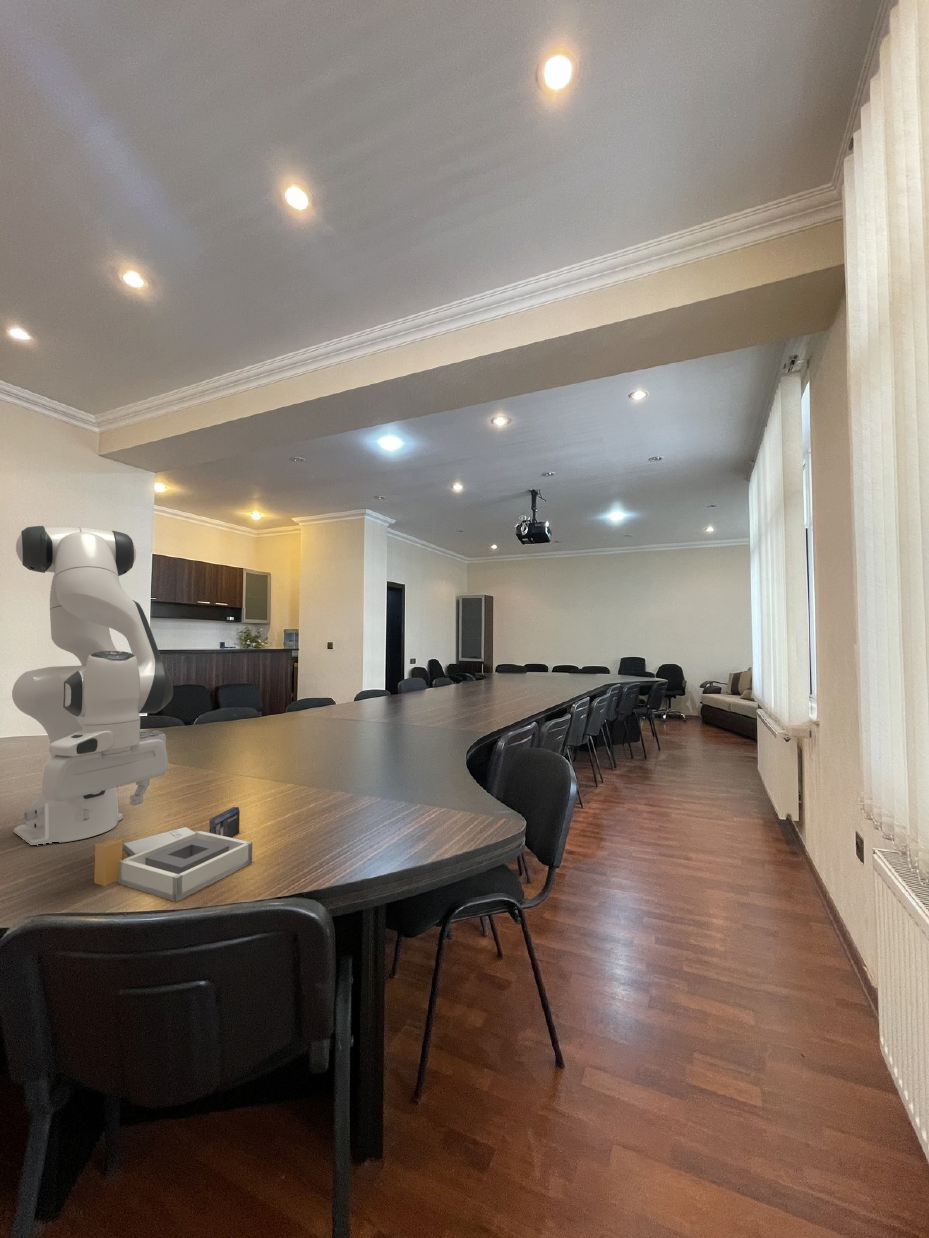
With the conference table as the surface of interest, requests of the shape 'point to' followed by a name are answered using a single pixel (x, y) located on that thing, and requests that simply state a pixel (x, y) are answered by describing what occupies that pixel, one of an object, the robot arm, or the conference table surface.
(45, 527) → the robot arm
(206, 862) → the walled box
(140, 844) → the external hard drive
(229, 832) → the mini dv tape
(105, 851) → the tan rectangular block
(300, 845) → the conference table surface
